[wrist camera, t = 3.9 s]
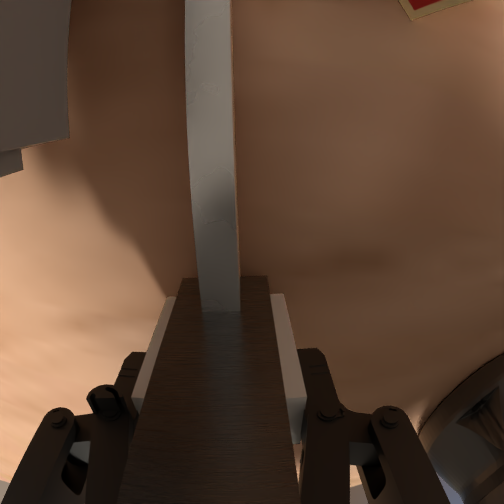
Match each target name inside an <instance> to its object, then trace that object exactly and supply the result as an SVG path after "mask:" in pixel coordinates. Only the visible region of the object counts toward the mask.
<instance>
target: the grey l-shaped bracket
mask: <svg viewBox="0 0 504 504" xmlns="http://www.w3.org/2000/svg"><path fill="white" fill-rule="evenodd" d="M185 84H186V115H187V138H188V157H189V174H190V189H191V202H192V215H193V227H194V239H195V249H196V260H197V270H198V278H183V280H182V283H181V286H180V288H179V291H178V294H177V297H176V300H175V303H174V306H173V309H172V312H171V315H170V318H169V321H168V324H167V327H166V330H165V333H164V336H163V339H162V342H161V345H160V348H159V351H158V355H157V358H156V361H155V364H154V367H153V371H152V374H151V377H150V380H149V384H148V387H147V390H146V394H145V397H144V400H143V404H142V407H141V411H140V414H139V418H138V421H137V425H136V428H135V432H134V436H133V439H132V443H131V447H130V451H129V454H128V458H127V462H126V466H125V470H124V474H123V478H122V482H121V486H120V490H119V494H118V499H117V503H116V504H301V500H300V493H299V486H298V479H297V472H296V465H295V458H294V451H293V444H292V437H291V430H290V423H289V416H288V410H287V403H286V396H285V389H284V383H283V376H282V370H281V363H280V356H279V350H278V343H277V337H276V330H275V324H274V318H273V311H272V305H271V298H270V292H269V286H268V280H267V276H245V277H240V255H239V231H238V206H237V178H236V149H235V116H234V80H233V37H232V0H185Z"/></svg>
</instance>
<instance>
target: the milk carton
mask: <svg viewBox="0 0 504 504" xmlns="http://www.w3.org/2000/svg"><path fill="white" fill-rule="evenodd" d="M398 1H399V2H400V4H401V5H402V7H403V9H404V10H405V12H406V13H407V15H408V17H409V18H410V20H411V21H412V20H415V19H417V18H420V17H423V16H425V15H428V14H431V13H434V12H437V11H440V10H443V9H446V8H449V7H452V6H455V5H459V4H462V3H465V2H469V1H472V0H398Z"/></svg>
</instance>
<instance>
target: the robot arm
mask: <svg viewBox="0 0 504 504" xmlns="http://www.w3.org/2000/svg"><path fill="white" fill-rule="evenodd" d="M270 298H271V305H272V311H273V318H274V324H275V330H276V337H277V343H278V350H279V356H280V363H281V370H282V376H283V383H284V389H285V396H286V403H287V410H288V416H289V423H290V430H291V437H292V444H300V441H301V440H302V446H303V448H302V454H301V459H300V463H301V464H300V473H299V482H298V486H299V493H300V500H301V504H350V465H356V467H357V470H358V473H359V476H360V479H361V482H362V485H363V488H364V491H365V494H366V497H367V500H368V504H450V502H449V500H448V497H447V495H446V493H445V491H444V489H443V486H442V485H441V482H440V480H439V478H438V476H437V474H438V475H439V476H440V477H441V478H442V479H443V480H444V481H445V482H446V483H447V484H448V485H449V486H450V487H451V488H453V489H454V490H455V491H456V492H457V493H458V494H459V495H460V497H461V499H462V501H463V503H464V504H504V354H503V355H501V356H499V357H498V358H496V359H494V360H493V361H491V362H489V363H488V364H486V365H485V366H484V367H482V368H481V369H479V370H478V371H477V372H475V373H474V374H473V375H472V376H470V377H469V378H468V379H467V380H465V381H464V382H463V383H462V384H461V385H460V386H459V387H457V388H456V389H455V390H454V391H453V392H452V393H451V394H450V395H449V396H448V397H447V398H446V399H445V400H444V401H443V402H442V403H441V404H440V405H439V406H438V408H437V409H436V410H435V411H434V412H433V414H432V415H431V416H430V417H429V419H428V420H427V422H426V423H425V425H424V426H423V428H422V430H421V432H420V435H419V437H418V435H417V433H416V431H415V429H414V428H413V426H412V424H411V422H410V420H409V418H408V416H407V415H406V413H405V412H404V411H403V410H401V409H399V408H398V407H394V406H383V407H380V408H378V409H377V410H376V411H375V412H373V414H363V413H356V412H352V411H350V410H348V409H346V408H345V407H344V405H343V404H341V403H340V401H339V399H338V396H337V393H336V390H335V387H334V384H333V380H332V377H331V374H330V371H329V368H328V366H327V362H326V359H325V356H324V354H323V353H322V352H321V351H320V350H319V349H318V348H308V349H296V345H295V340H294V336H293V332H292V327H291V323H290V319H289V314H288V310H287V306H286V301H285V297H284V293H283V294H270ZM175 300H176V297H167V299H166V302H165V304H164V307H163V310H162V312H161V315H160V317H159V320H158V323H157V325H156V328H155V331H154V333H153V336H152V339H151V342H150V344H149V347H148V350H147V352H132V353H131V354H130V355H129V356H128V357H127V358H126V359H125V360H124V362H123V365H122V367H121V370H120V372H119V374H118V377H117V379H116V382H115V384H114V385H107V384H106V385H100V386H98V387H96V388H94V389H92V390H91V391H90V392H89V393H88V395H87V398H86V399H87V401H88V403H89V405H90V407H91V409H92V411H93V413H92V414H86V415H78V416H74V414H73V413H72V412H71V411H70V410H69V409H67V408H61V407H59V408H55V409H52V410H51V411H49V412H48V413H47V414H46V415H45V416H44V418H43V420H42V422H41V424H40V426H39V427H38V429H37V431H36V433H35V435H34V437H33V439H32V440H31V442H30V444H29V446H28V448H27V450H26V452H25V454H24V456H23V458H22V460H21V462H20V464H19V466H18V468H17V470H16V472H15V474H14V476H13V478H12V480H11V483H10V485H9V487H8V489H7V491H6V494H5V496H4V498H3V500H2V503H1V504H116V503H117V499H118V494H119V490H120V486H121V482H122V478H123V474H124V470H125V466H126V462H127V458H128V454H129V451H130V447H131V443H132V439H133V436H134V432H135V428H136V425H137V421H138V418H139V414H140V411H141V407H142V404H143V400H144V397H145V394H146V390H147V387H148V384H149V380H150V377H151V374H152V371H153V367H154V364H155V361H156V358H157V355H158V351H159V348H160V345H161V342H162V339H163V336H164V333H165V330H166V327H167V324H168V321H169V318H170V315H171V312H172V309H173V306H174V303H175ZM436 473H437V474H436Z"/></svg>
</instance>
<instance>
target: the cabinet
mask: <svg viewBox="0 0 504 504" xmlns="http://www.w3.org/2000/svg"><path fill="white" fill-rule="evenodd" d="M71 1H72V0H0V177H3V176H6V175H8V174H11V173H14V172H17V171H20V170H23V163H22V154H21V149H24V148H28V147H31V146H36V145H40V144H44V143H48V142H53V141H57V140H62V139H67V138H70V137H69V122H68V98H67V59H68V36H69V22H70V10H71Z"/></svg>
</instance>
